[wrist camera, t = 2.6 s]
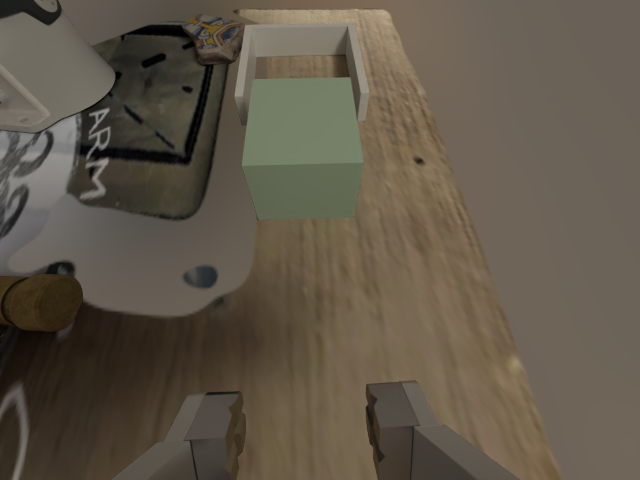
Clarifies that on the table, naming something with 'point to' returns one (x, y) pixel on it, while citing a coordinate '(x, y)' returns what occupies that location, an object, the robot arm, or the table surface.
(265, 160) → the block
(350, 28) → the box
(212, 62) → the ceramic tile fragment
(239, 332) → the table surface
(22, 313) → the gavel
